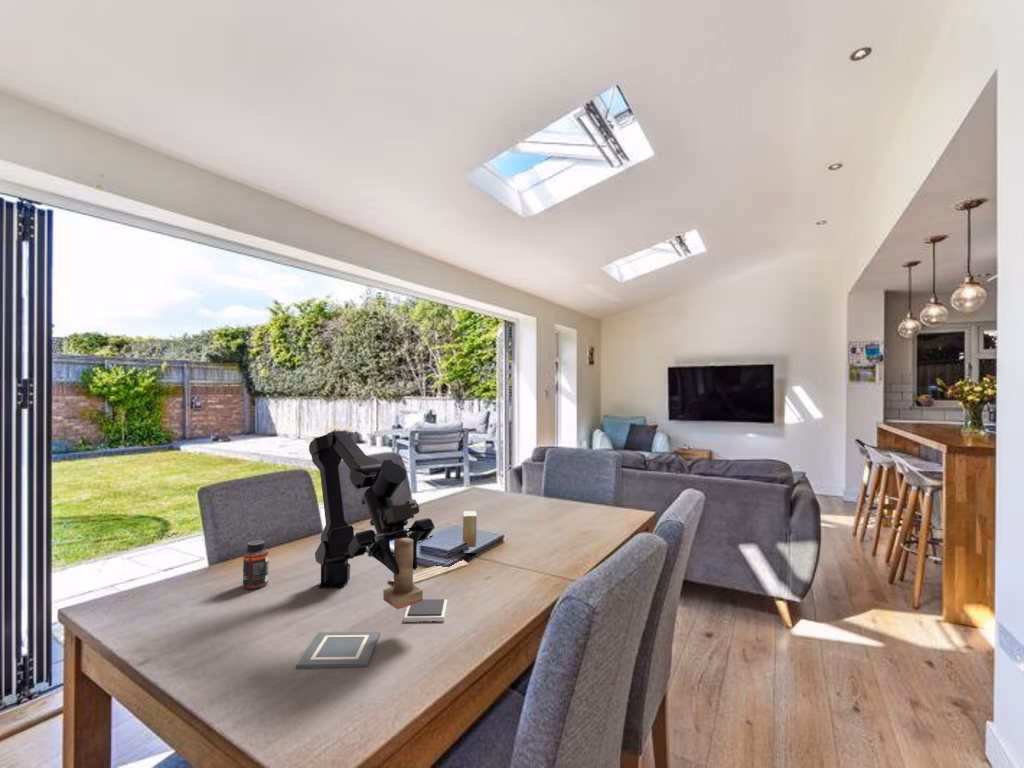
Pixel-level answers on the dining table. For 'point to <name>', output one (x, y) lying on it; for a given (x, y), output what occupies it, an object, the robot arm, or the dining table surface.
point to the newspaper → (435, 572)
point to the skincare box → (469, 528)
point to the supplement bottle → (255, 565)
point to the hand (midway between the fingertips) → (406, 571)
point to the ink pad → (426, 611)
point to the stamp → (403, 577)
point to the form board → (339, 650)
